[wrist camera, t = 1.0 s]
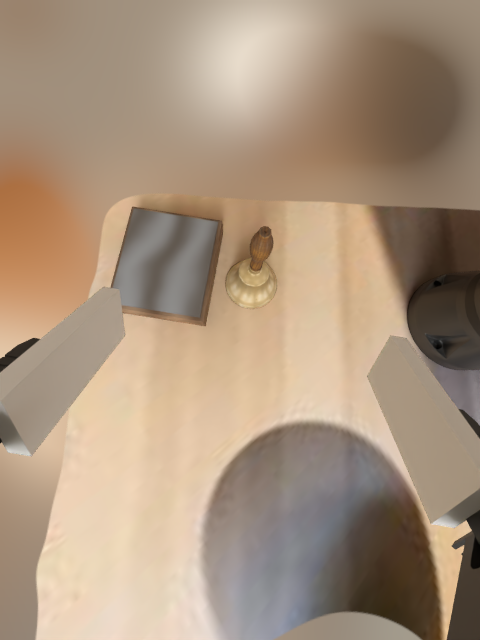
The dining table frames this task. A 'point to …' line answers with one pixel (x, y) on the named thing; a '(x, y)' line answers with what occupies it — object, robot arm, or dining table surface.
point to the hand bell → (253, 274)
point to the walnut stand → (168, 265)
